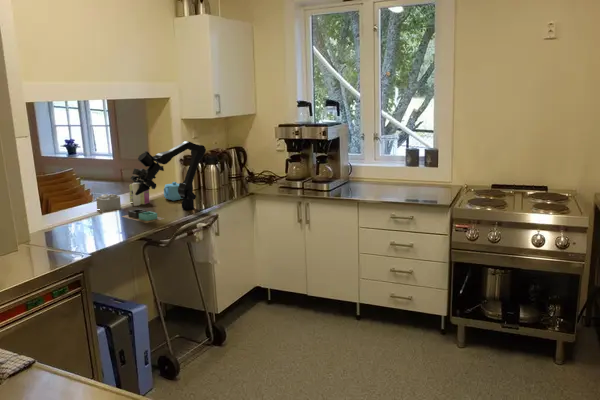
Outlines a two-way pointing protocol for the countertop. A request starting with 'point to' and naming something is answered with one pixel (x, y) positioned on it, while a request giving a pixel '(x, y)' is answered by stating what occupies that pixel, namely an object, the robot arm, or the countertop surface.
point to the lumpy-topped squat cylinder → (108, 202)
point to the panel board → (135, 215)
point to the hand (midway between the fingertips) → (134, 194)
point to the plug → (136, 197)
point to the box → (143, 196)
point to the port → (148, 216)
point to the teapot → (172, 191)
